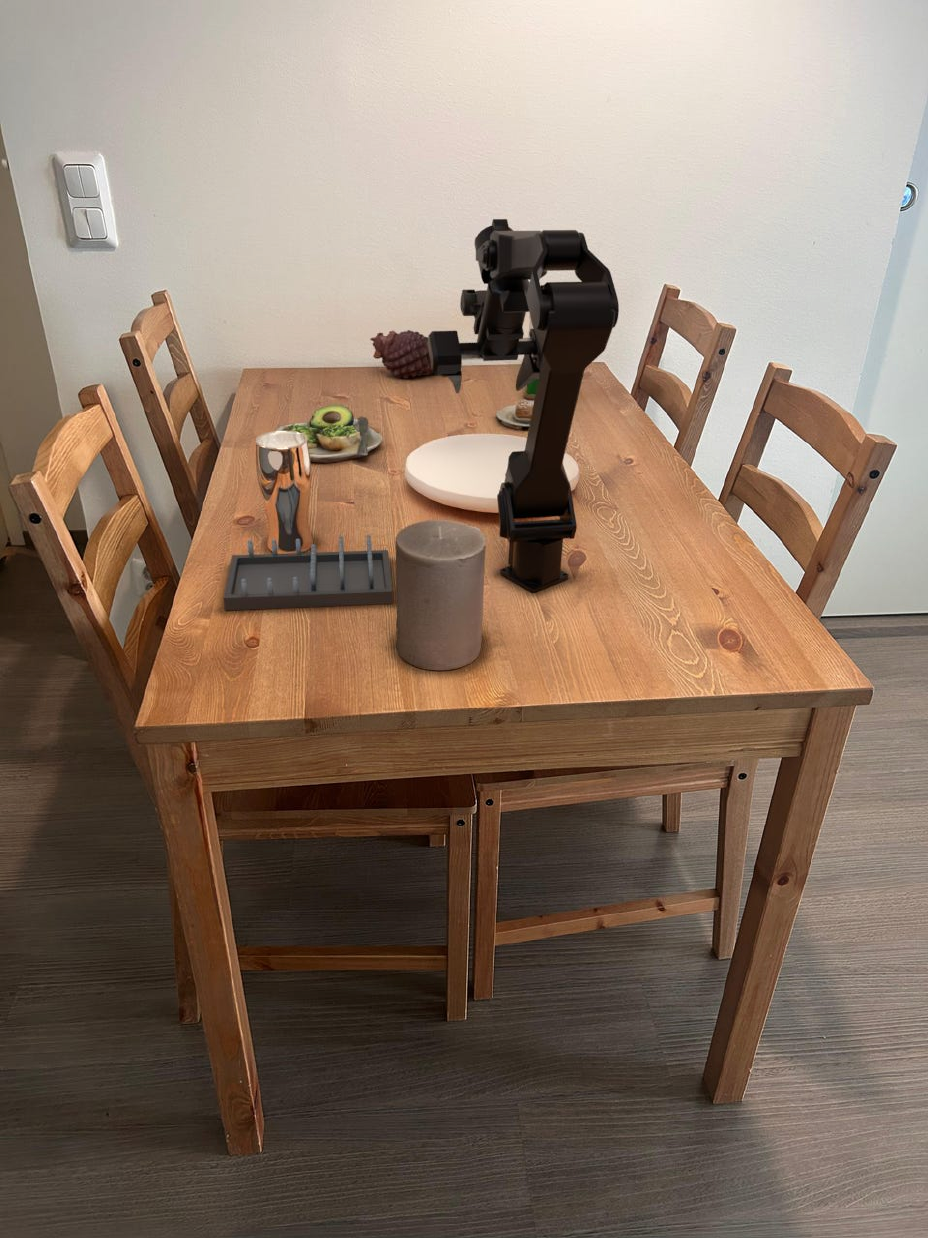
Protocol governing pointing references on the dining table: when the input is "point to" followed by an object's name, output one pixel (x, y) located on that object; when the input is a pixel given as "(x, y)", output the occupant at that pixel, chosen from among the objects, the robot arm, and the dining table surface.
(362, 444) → the salad plate
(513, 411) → the pastry
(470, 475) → the plate
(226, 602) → the rack
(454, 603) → the pillar candle
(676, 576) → the dining table surface
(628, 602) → the dining table surface
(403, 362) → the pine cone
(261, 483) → the beer glass
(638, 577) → the dining table surface
